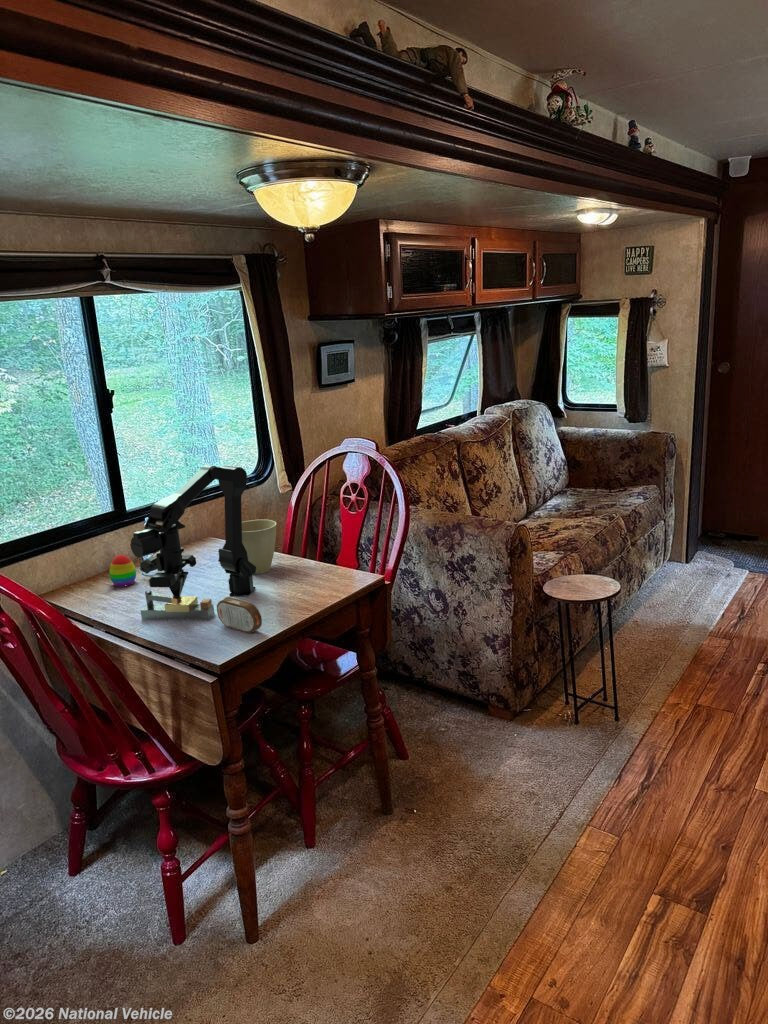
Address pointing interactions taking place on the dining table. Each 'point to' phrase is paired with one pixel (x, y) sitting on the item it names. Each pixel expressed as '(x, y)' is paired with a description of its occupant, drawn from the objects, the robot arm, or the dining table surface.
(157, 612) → the plane body
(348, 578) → the dining table surface
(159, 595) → the cam lever
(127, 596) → the dining table surface
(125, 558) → the decorative egg
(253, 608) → the tin
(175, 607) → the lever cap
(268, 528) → the plant pot
